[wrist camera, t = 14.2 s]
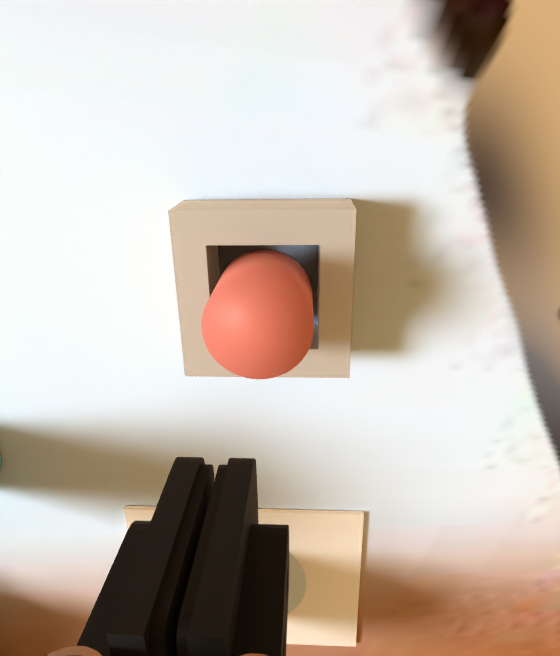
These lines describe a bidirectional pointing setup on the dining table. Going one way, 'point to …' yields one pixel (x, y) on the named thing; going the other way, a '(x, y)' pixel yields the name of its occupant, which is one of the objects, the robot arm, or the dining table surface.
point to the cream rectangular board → (313, 571)
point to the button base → (266, 229)
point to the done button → (260, 315)
